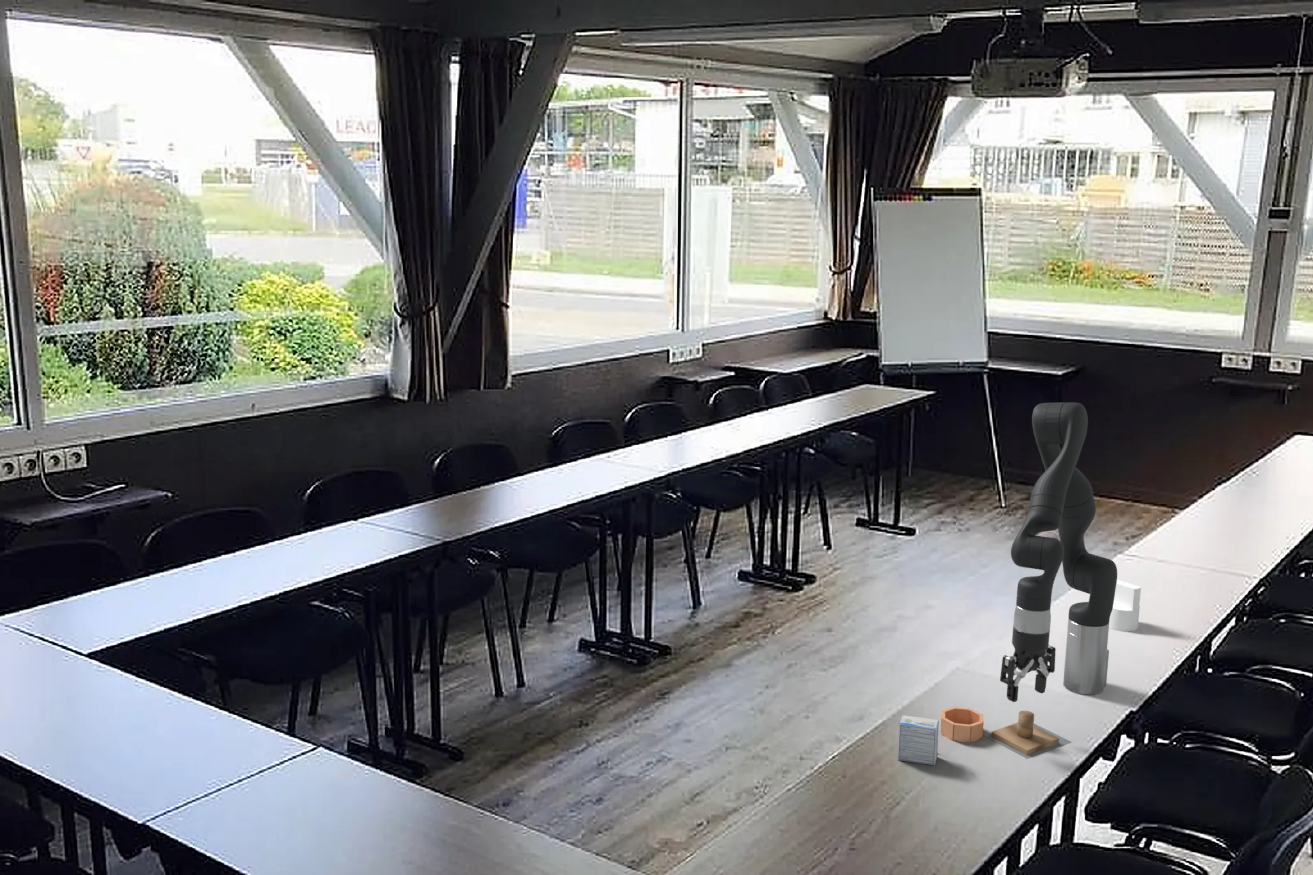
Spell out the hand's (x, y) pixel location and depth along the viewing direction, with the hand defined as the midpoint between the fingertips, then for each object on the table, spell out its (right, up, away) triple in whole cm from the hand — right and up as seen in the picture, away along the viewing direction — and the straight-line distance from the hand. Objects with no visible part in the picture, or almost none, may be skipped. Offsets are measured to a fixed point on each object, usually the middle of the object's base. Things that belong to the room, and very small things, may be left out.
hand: (1025, 696), depth 258 cm
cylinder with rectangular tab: (+47, +4, +68) cm, 83 cm away
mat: (+1, -10, +3) cm, 11 cm away
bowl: (-12, -10, +6) cm, 17 cm away
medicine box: (-24, -13, -5) cm, 28 cm away
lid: (0, -10, +2) cm, 10 cm away
